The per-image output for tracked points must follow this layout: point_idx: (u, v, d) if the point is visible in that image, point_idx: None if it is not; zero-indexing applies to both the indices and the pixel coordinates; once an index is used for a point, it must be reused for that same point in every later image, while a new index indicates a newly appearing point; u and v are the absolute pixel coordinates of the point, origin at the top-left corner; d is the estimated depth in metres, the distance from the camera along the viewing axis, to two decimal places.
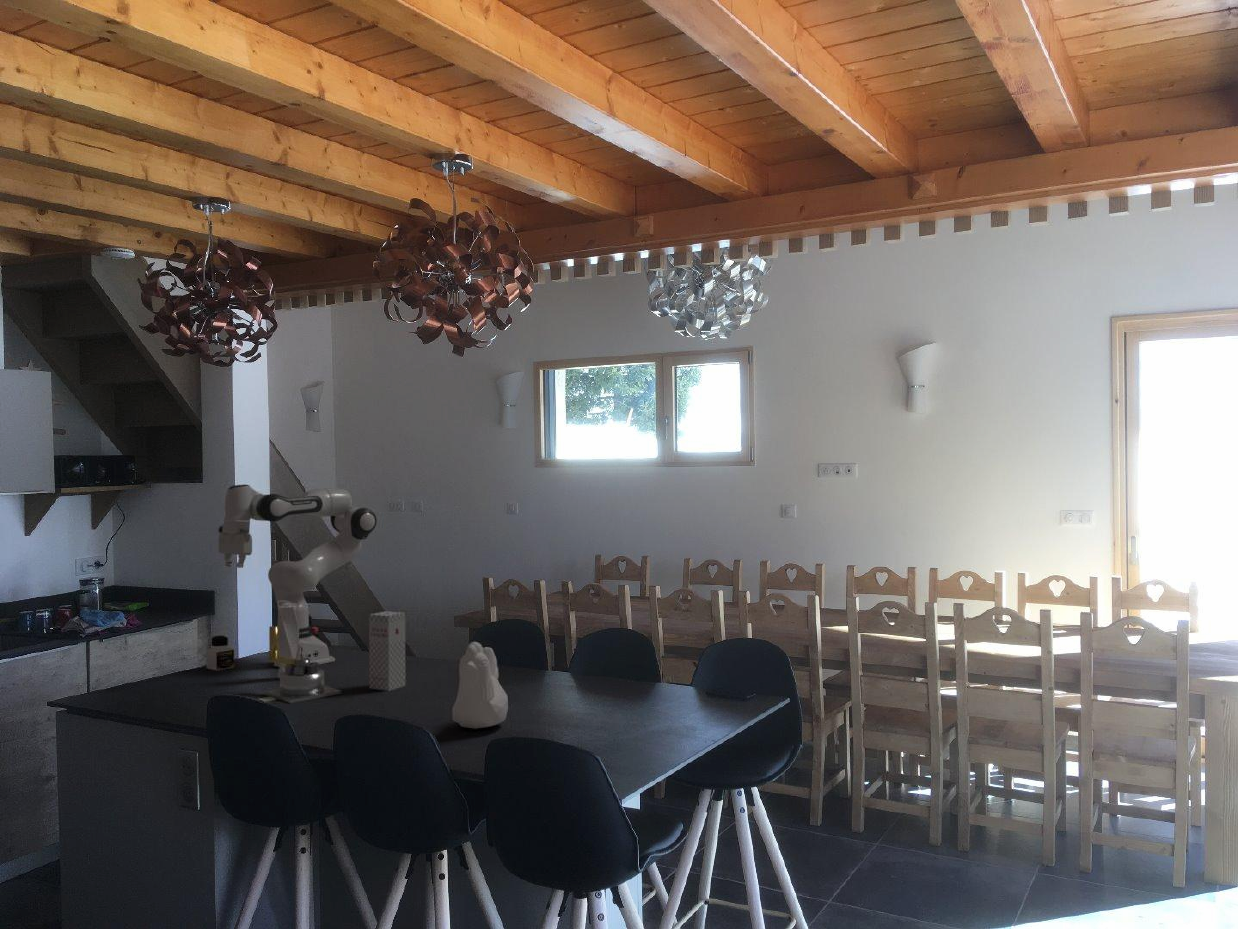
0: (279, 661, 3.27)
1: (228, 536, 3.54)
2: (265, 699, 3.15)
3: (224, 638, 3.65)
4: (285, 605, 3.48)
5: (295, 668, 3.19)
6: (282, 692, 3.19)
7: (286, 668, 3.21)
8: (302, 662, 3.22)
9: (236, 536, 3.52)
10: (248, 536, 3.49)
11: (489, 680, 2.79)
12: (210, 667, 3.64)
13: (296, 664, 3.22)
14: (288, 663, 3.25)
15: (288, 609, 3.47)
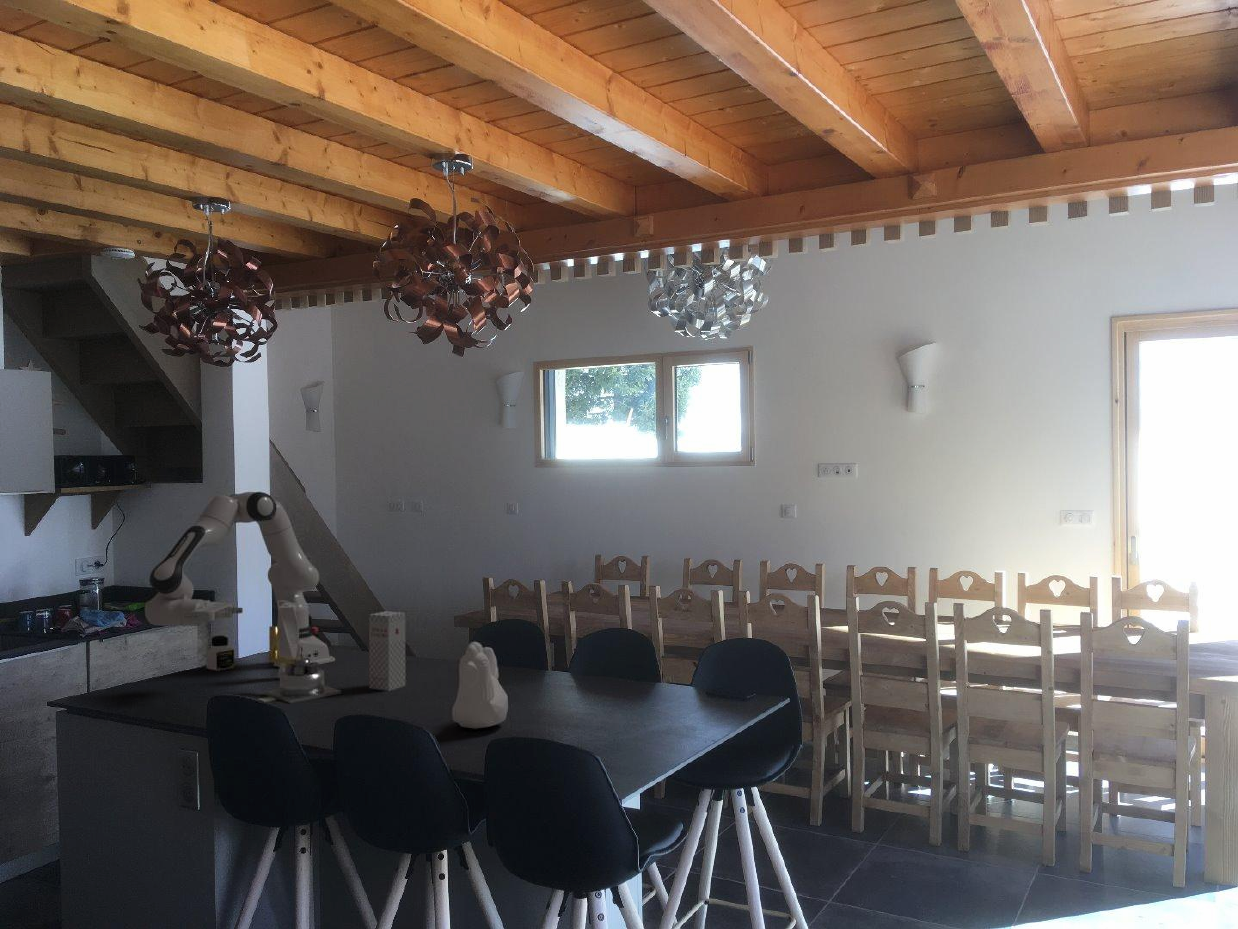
0: (279, 661, 3.27)
1: None
2: (265, 699, 3.15)
3: (224, 638, 3.65)
4: (285, 605, 3.48)
5: (295, 668, 3.19)
6: (282, 692, 3.19)
7: (286, 668, 3.21)
8: (302, 662, 3.22)
9: None
10: (190, 617, 3.18)
11: (489, 680, 2.79)
12: (210, 667, 3.64)
13: (296, 664, 3.22)
14: (288, 663, 3.25)
15: (288, 609, 3.47)
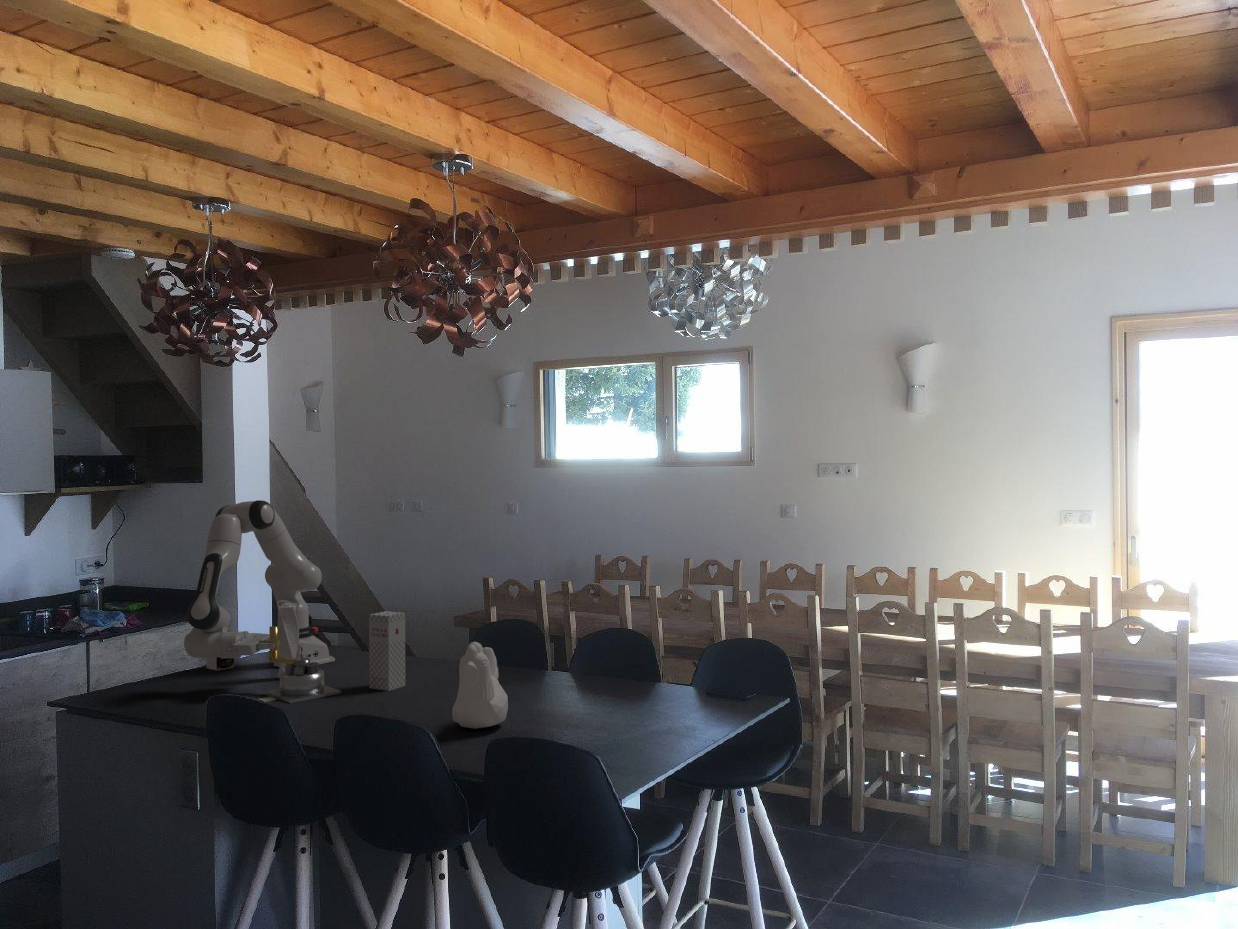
0: (279, 661, 3.27)
1: None
2: (265, 699, 3.15)
3: None
4: (285, 605, 3.48)
5: (295, 668, 3.19)
6: (282, 692, 3.19)
7: (286, 668, 3.21)
8: (302, 662, 3.22)
9: None
10: (231, 651, 3.19)
11: (489, 680, 2.79)
12: (210, 667, 3.64)
13: (296, 664, 3.22)
14: (288, 663, 3.25)
15: (288, 609, 3.47)
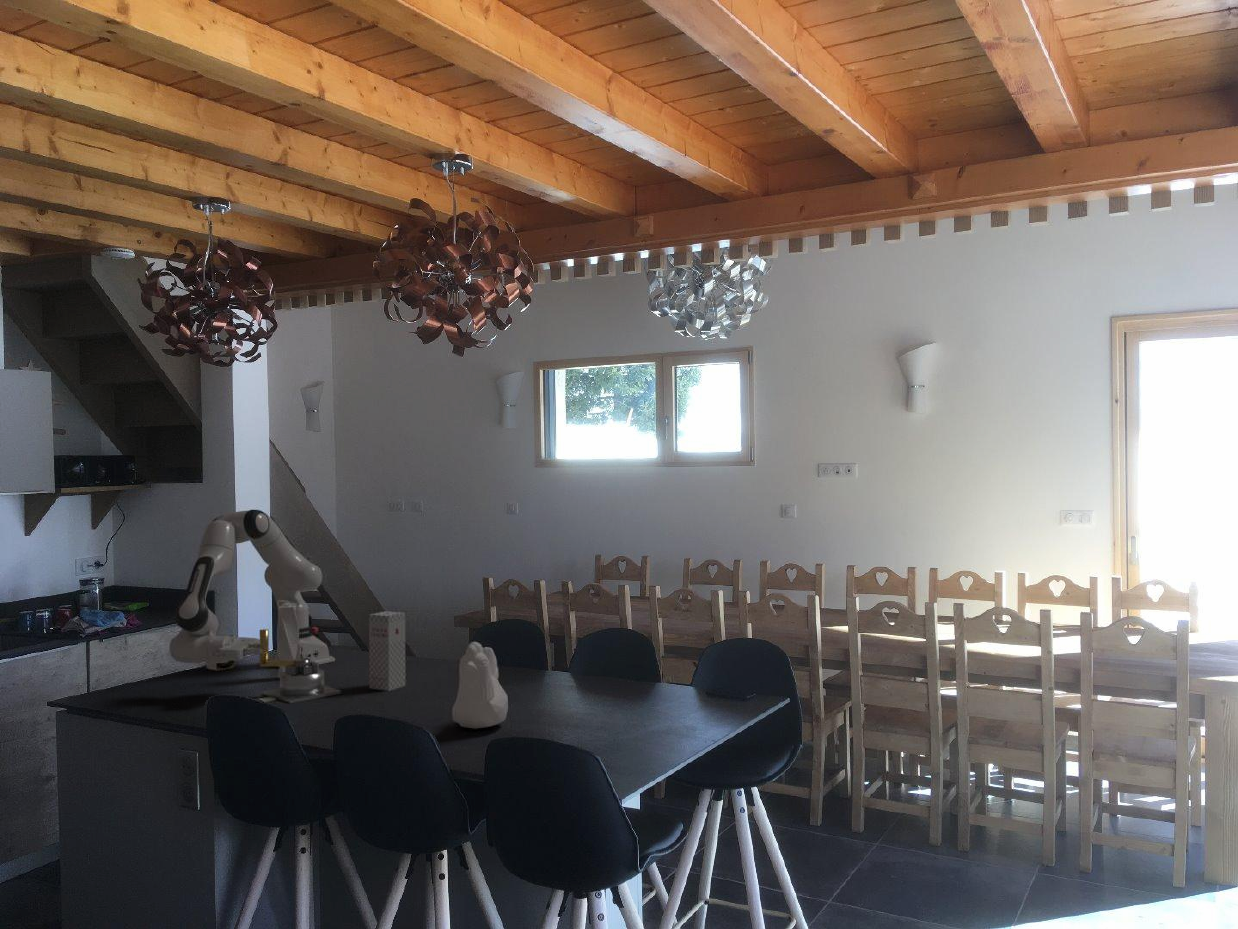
0: (274, 664, 3.22)
1: None
2: (265, 699, 3.15)
3: None
4: (285, 605, 3.48)
5: (304, 668, 3.20)
6: (282, 692, 3.19)
7: (291, 669, 3.20)
8: (306, 661, 3.23)
9: None
10: (217, 655, 3.11)
11: (489, 680, 2.79)
12: (210, 667, 3.64)
13: (301, 664, 3.22)
14: (286, 665, 3.22)
15: (288, 609, 3.47)
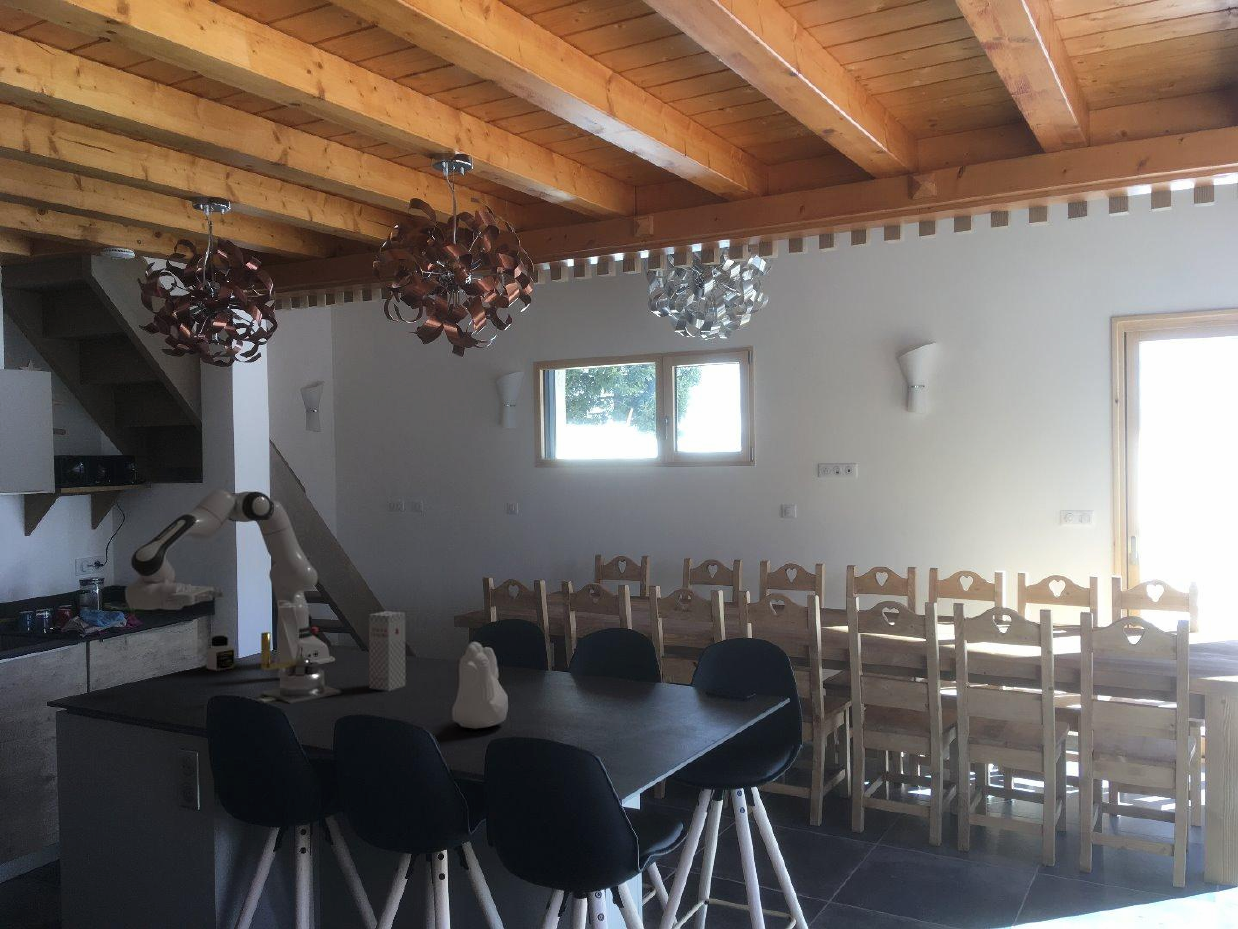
0: (278, 666, 3.18)
1: (183, 605, 3.28)
2: (265, 699, 3.15)
3: (224, 638, 3.65)
4: (285, 605, 3.48)
5: (312, 666, 3.22)
6: (282, 692, 3.19)
7: (299, 669, 3.19)
8: (309, 661, 3.24)
9: None
10: (170, 600, 3.18)
11: (489, 680, 2.79)
12: (210, 667, 3.64)
13: (305, 664, 3.23)
14: (290, 666, 3.20)
15: (288, 609, 3.47)
